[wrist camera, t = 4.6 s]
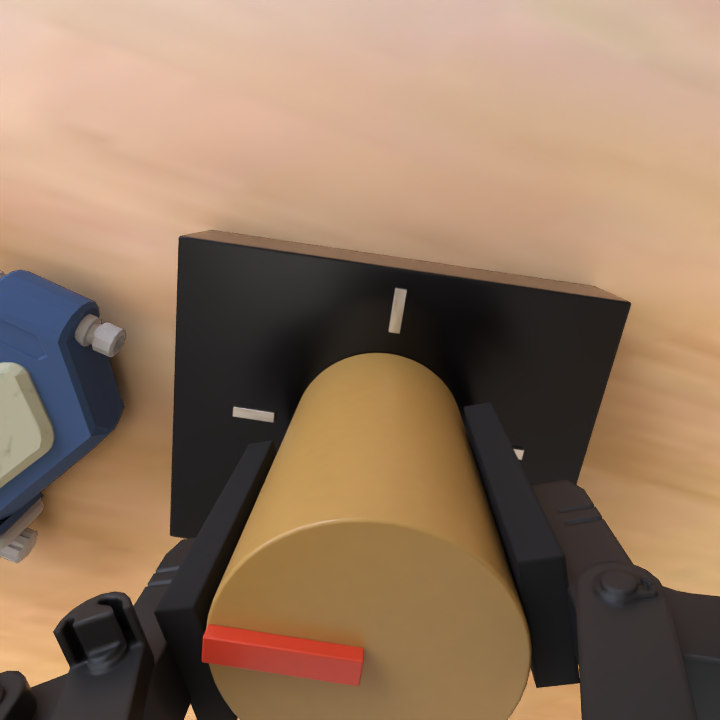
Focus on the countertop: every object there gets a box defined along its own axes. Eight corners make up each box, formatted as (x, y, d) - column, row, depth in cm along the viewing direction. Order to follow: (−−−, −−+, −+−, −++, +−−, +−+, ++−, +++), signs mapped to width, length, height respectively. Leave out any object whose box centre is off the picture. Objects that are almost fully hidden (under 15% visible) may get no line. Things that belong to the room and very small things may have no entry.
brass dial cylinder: (477, 365, 17) (578, 561, 8) (444, 515, 18) (496, 816, 9) (304, 340, 17) (206, 505, 8) (287, 491, 18) (191, 768, 9)
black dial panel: (595, 286, 19) (635, 303, 16) (523, 542, 22) (545, 597, 19) (210, 229, 19) (175, 235, 16) (197, 492, 22) (167, 539, 19)
